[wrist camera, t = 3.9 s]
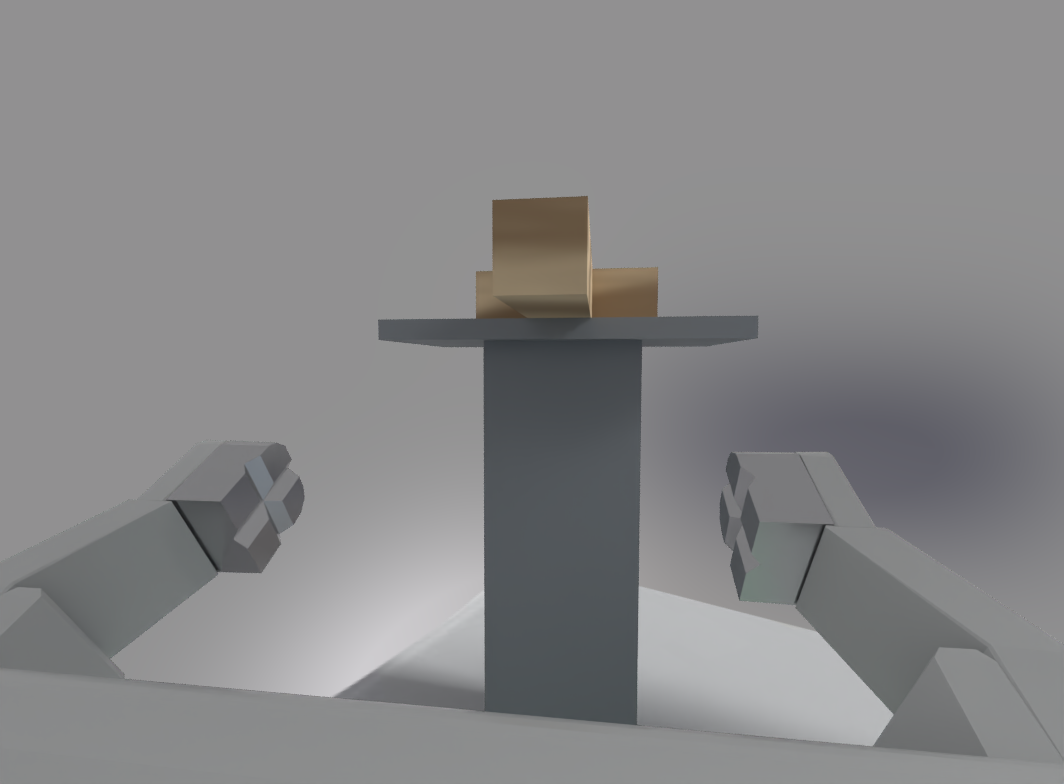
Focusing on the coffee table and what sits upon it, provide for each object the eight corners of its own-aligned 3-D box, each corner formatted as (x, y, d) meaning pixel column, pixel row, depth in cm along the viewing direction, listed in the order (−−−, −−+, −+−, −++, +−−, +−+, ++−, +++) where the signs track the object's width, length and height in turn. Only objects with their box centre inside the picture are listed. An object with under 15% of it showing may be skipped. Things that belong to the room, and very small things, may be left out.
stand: (743, 861, 24) (758, 315, 23) (386, 816, 26) (378, 319, 25) (698, 706, 35) (706, 331, 34) (447, 684, 37) (445, 333, 36)
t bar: (702, 292, 15) (704, 191, 15) (388, 297, 17) (387, 204, 16) (651, 327, 30) (651, 277, 30) (487, 328, 31) (487, 280, 31)
